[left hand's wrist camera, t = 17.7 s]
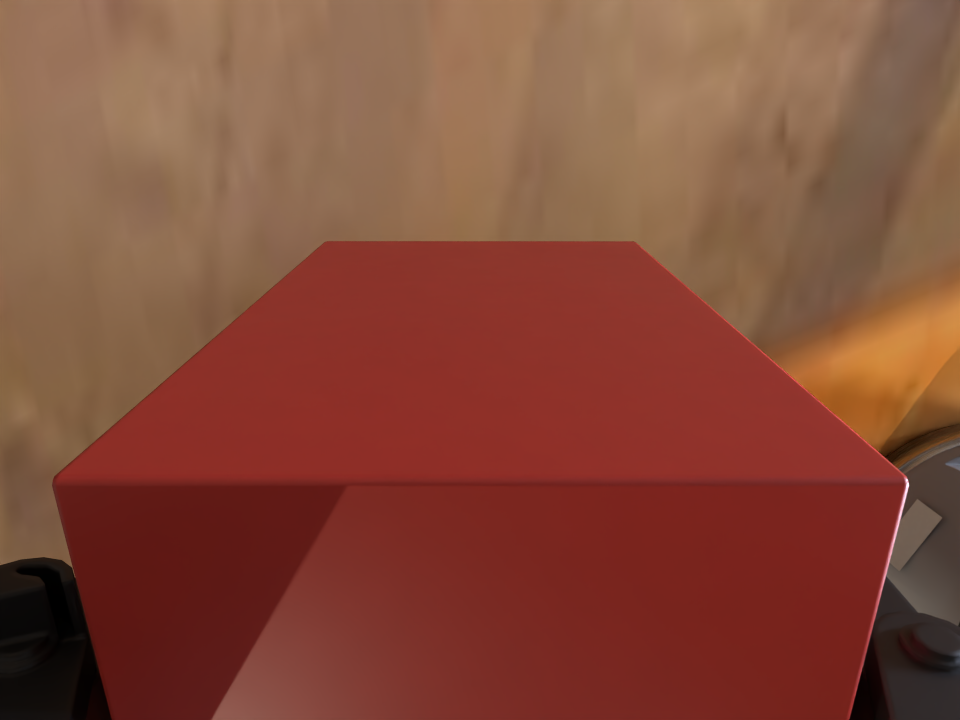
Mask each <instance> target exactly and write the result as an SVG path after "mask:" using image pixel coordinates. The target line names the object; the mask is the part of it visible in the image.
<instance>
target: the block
mask: <svg viewBox="0 0 960 720" xmlns="http://www.w3.org/2000/svg"><path fill="white" fill-rule="evenodd" d="M52 487H53V491H54V495H55V499H56V503H57V506H58V510H59V514H60V518H61V522H62V526H63V530H64V534H65V538H66V542H67V546H68V550H69V554H70V558H71V562H72V566H73V569H74V573H75V577H76V581H77V585H78V589H79V593H80V597H81V601H82V605H83V609H84V613H85V617H86V621H87V625H88V629H89V632H90V636H91V640H92V644H93V648H94V652H95V656H96V660H97V664H98V668H99V672H100V676H101V680H102V684H103V688H104V692H105V695H106V699H107V703H108V707H109V711H110V715H111V719H112V720H849V719H850V715H851V711H852V707H853V703H854V699H855V695H856V691H857V687H858V683H859V679H860V675H861V672H862V668H863V664H864V660H865V656H866V652H867V648H868V644H869V640H870V636H871V632H872V628H873V625H874V621H875V617H876V613H877V609H878V605H879V601H880V597H881V593H882V589H883V585H884V582H885V578H886V574H887V570H888V566H889V562H890V558H891V554H892V550H893V546H894V542H895V538H896V535H897V531H898V527H899V523H900V519H901V515H902V511H903V507H904V503H905V499H906V495H907V491H908V488H909V483H908V479H907V476H905V475H904V474H903V473H902V472H901V471H900V470H899V469H897V468H896V467H895V466H894V465H893V464H892V463H890V462H889V461H888V460H887V459H886V458H885V457H884V456H882V455H881V454H880V453H879V452H878V451H877V450H875V449H874V448H873V447H872V446H871V445H870V444H868V443H867V442H866V441H865V440H864V439H863V438H862V437H860V436H859V435H858V434H857V433H856V432H855V431H853V430H852V429H851V428H850V427H849V426H848V425H846V424H845V423H844V422H843V421H842V420H841V419H840V418H838V417H837V416H836V415H835V414H834V413H833V412H831V411H830V410H829V409H828V408H827V407H826V406H824V405H823V404H822V403H821V402H820V401H819V400H818V399H816V398H815V397H814V396H813V395H812V394H811V393H809V392H808V391H807V390H806V389H805V388H804V387H803V386H801V385H800V384H799V383H798V382H797V381H796V380H794V379H793V378H792V377H791V376H790V375H789V374H787V373H786V372H785V371H784V370H783V369H782V368H781V367H779V366H778V365H777V364H776V363H775V362H774V361H772V360H771V359H770V358H769V357H768V356H767V355H765V354H764V353H763V352H762V351H761V350H760V349H759V348H757V347H756V346H755V345H754V344H753V343H752V342H750V341H749V340H748V339H747V338H746V337H745V336H743V335H742V334H741V333H740V332H739V331H738V330H737V329H735V328H734V327H733V326H732V325H731V324H730V323H728V322H727V321H726V320H725V319H724V318H723V317H721V316H720V315H719V314H718V313H717V312H716V311H715V310H713V309H712V308H711V307H710V306H709V305H708V304H706V303H705V302H704V301H703V300H702V299H701V298H700V297H698V296H697V295H696V294H695V293H694V292H693V291H691V290H690V289H689V288H688V287H687V286H686V285H684V284H683V283H682V282H681V281H680V280H679V279H678V278H676V277H675V276H674V275H673V274H672V273H671V272H669V271H668V270H667V269H666V268H665V267H664V266H662V265H661V264H660V263H659V262H658V261H657V260H656V259H654V258H653V257H652V256H651V255H650V254H649V253H647V252H646V251H645V250H644V249H643V248H642V247H640V246H639V245H638V244H637V243H636V242H547V241H327V242H324V243H323V244H322V245H321V246H320V247H319V248H317V249H316V250H315V251H314V252H313V253H312V254H311V255H309V256H308V257H307V258H306V259H305V260H304V261H302V262H301V263H300V264H299V265H298V266H297V267H296V268H294V269H293V270H292V271H291V272H290V273H289V274H287V275H286V276H285V277H284V278H283V279H282V280H281V281H279V282H278V283H277V284H276V285H275V286H274V287H272V288H271V289H270V290H269V291H268V292H267V293H266V294H264V295H263V296H262V297H261V298H260V299H259V300H257V301H256V302H255V303H254V304H253V305H252V306H251V307H249V308H248V309H247V310H246V311H245V312H244V313H242V314H241V315H240V316H239V317H238V318H237V319H236V320H234V321H233V322H232V323H231V324H230V325H229V326H227V327H226V328H225V329H224V330H223V331H222V332H220V333H219V334H218V335H217V336H216V337H215V338H214V339H212V340H211V341H210V342H209V343H208V344H207V345H205V346H204V347H203V348H202V349H201V350H200V351H199V352H197V353H196V354H195V355H194V356H193V357H192V358H190V359H189V360H188V361H187V362H186V363H185V364H184V365H182V366H181V367H180V368H179V369H178V370H177V371H175V372H174V373H173V374H172V375H171V376H170V377H169V378H167V379H166V380H165V381H164V382H163V383H162V384H160V385H159V386H158V387H157V388H156V389H155V390H154V391H152V392H151V393H150V394H149V395H148V396H147V397H145V398H144V399H143V400H142V401H141V402H140V403H139V404H137V405H136V406H135V407H134V408H133V409H132V410H130V411H129V412H128V413H127V414H126V415H125V416H124V417H122V418H121V419H120V420H119V421H118V422H117V423H115V424H114V425H113V426H112V427H111V428H110V429H109V430H107V431H106V432H105V433H104V434H103V435H102V436H100V437H99V438H98V439H97V440H96V441H95V442H94V443H92V444H91V445H90V446H89V447H88V448H87V449H85V450H84V451H83V452H82V453H81V454H80V455H79V456H77V457H76V458H75V459H74V460H73V461H72V462H70V463H69V464H68V465H67V466H66V467H65V468H64V469H62V470H61V471H60V472H59V473H58V474H57V475H55V477H54V479H53V483H52Z"/></svg>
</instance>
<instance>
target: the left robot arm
mask: <svg viewBox="0 0 960 720" xmlns="http://www.w3.org/2000/svg"><path fill="white" fill-rule="evenodd" d="M0 720H112V719H111V715H110V711H109V707H108V703H107V699H106V695H105V692H104V688H103V684H102V680H101V676H100V672H99V668H98V664H97V660H96V656H95V652H94V648H93V644H92V640H91V636H90V632H89V629H88V625H87V621H86V617H85V613H84V609H83V605H82V601H81V597H80V593H79V589H78V585H77V581H76V578H75V577H74V574H73V570H72V567H70V566H69V565H68V564H66V563H65V562H63V561H62V560H58V559H51V558H45V557H42V558H32V559H22V560H18V561H14V562H11V563H7V564H4V565H0ZM849 720H960V627H959V626H957V625H955V624H953V623H951V622H949V621H947V620H944V619H940V618H937V617H934V616H931V615H928V614H925V613H918V612H917V611H916V610H915V609H914V607H913V606H912V605H911V604H910V603H909V602H908V600H907V599H906V598H905V597H904V596H903V595H902V594H901V592H900V591H899V590H898V589H897V588H896V587H895V585H894V584H893V583H892V582H891V581H890V580H889V579H888V577H887V576H886V578H885V582H884V585H883V589H882V593H881V597H880V601H879V605H878V609H877V613H876V617H875V621H874V625H873V628H872V632H871V636H870V640H869V644H868V648H867V652H866V656H865V660H864V664H863V668H862V672H861V675H860V679H859V683H858V687H857V691H856V695H855V699H854V703H853V707H852V711H851V715H850V719H849Z"/></svg>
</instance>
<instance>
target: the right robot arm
mask: <svg viewBox="0 0 960 720" xmlns="http://www.w3.org/2000/svg"><path fill="white" fill-rule="evenodd" d="M886 459H887V460H888V461H889V462H890V463H892V464H893V465H894V466H895V467H896V468H897V469H899V470H900V471H901V472H902V473H903V474H904V475H905V476H907V479H908V483H909V488H908V491H907V495H906V499H905V503H904V507H903V511H902V515H901V519H900V523H899V527H898V531H897V535H896V538H895V542H894V546H893V550H892V554H891V558H890V562H889V566H888V570H887V574H886V576H887V577H888V579H889V580H890V581H891V582H892V583H893V584H894V585H895V587H896V588H897V589H898V590H899V591H900V592H901V594H902V595H903V596H904V597H905V598H906V599H907V600H908V602H909V603H910V604H911V605H912V606H913V607H914V609H915V610H916V611H917V612H918V613H925V614H928V615H931V616H934V617H937V618H940V619H944V620H947V621H949V622H951V623H953V624H955V625H957V626H959V627H960V424H957V425H953V426H949V427H945V428H942V429H939V430H936V431H933V432H931V433H928V434H926V435H924V436H921V437H919V438H917V439H915V440H913V441H911V442H909V443H907V444H906V445H904V446H902V447H901V448H899V449H898V450H896V451H894V452H893V453H892V454H890V455H889V456H888V457H886Z"/></svg>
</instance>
